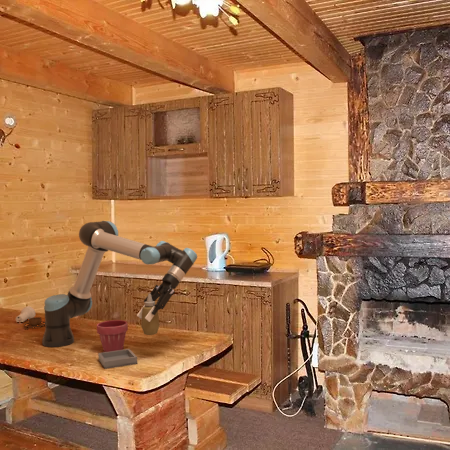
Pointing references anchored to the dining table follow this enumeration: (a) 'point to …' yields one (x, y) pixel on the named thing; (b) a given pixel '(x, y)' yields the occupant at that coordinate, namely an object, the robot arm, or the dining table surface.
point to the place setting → (34, 322)
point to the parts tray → (117, 358)
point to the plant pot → (112, 334)
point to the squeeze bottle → (153, 325)
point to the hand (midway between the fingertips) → (143, 318)
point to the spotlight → (26, 314)
